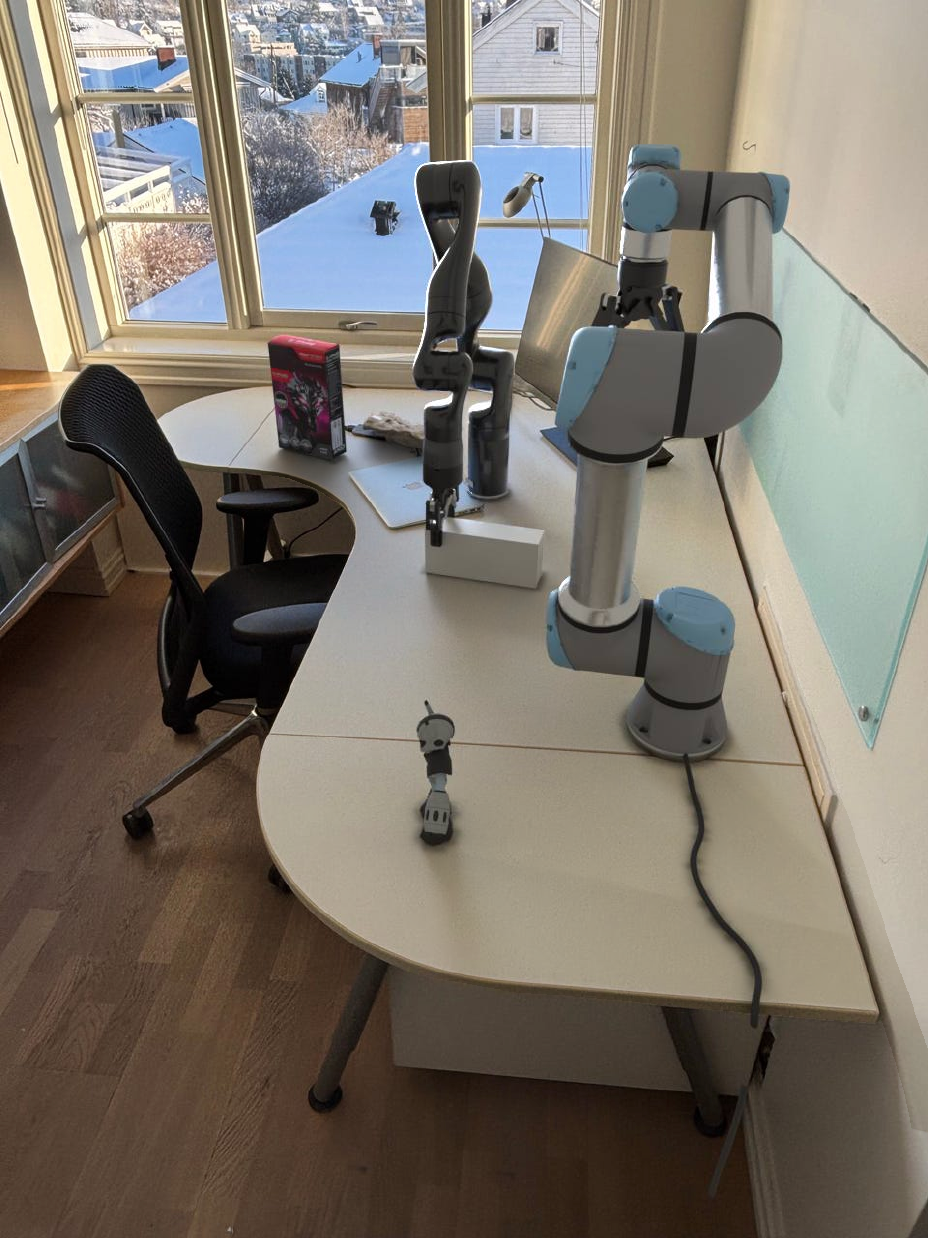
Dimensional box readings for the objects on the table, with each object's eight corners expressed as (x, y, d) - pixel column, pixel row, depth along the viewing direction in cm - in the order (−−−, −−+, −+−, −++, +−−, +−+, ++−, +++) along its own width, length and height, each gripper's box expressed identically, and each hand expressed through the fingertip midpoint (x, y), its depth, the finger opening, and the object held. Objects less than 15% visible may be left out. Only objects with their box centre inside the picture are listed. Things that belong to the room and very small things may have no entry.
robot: (457, 879, 118) (458, 763, 107) (419, 880, 118) (416, 764, 107) (451, 772, 135) (451, 662, 123) (418, 773, 134) (415, 663, 123)
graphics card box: (276, 448, 231) (264, 340, 216) (293, 439, 236) (282, 332, 221) (333, 462, 225) (324, 351, 209) (349, 452, 230) (341, 343, 214)
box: (542, 573, 182) (544, 530, 177) (536, 588, 177) (538, 544, 172) (434, 557, 187) (433, 515, 181) (425, 572, 182) (424, 528, 177)
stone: (346, 435, 230) (351, 411, 228) (368, 426, 244) (372, 404, 241) (425, 459, 227) (430, 436, 224) (442, 449, 240) (447, 427, 238)
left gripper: (434, 441, 177) (435, 517, 186) (411, 471, 166) (413, 550, 175) (472, 446, 176) (471, 522, 185) (451, 476, 164) (451, 555, 173)
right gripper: (687, 245, 150) (670, 373, 161) (563, 260, 139) (554, 397, 150) (720, 253, 144) (700, 386, 156) (594, 270, 133) (582, 411, 145)
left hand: (442, 535), depth 180 cm, fingers open, 8 cm apart
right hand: (628, 391), depth 153 cm, fingers open, 13 cm apart
